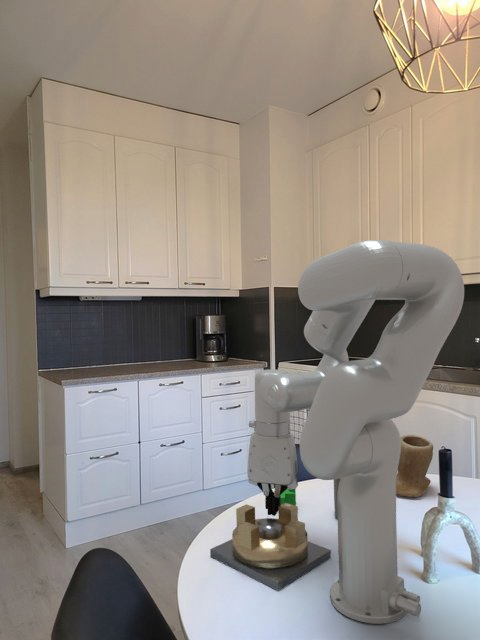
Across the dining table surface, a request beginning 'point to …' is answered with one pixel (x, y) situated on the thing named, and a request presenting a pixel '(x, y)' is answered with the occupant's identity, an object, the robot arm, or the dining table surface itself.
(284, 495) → the pipe clamp
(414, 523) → the dining table surface
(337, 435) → the robot arm
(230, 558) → the mounting plate
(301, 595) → the dining table surface
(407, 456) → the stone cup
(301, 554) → the ring nut
